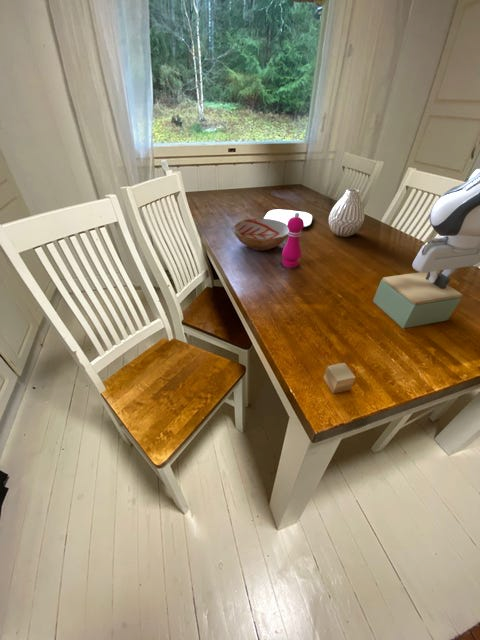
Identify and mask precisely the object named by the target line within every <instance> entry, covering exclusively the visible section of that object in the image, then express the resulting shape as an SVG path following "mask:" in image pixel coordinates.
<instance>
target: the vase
mask: <svg viewBox="0 0 480 640" xmlns="http://www.w3.org/2000/svg"><path fill="white" fill-rule="evenodd" d="M364 221H365V208H364V205H363V202H362V199H361V192H360V190H359V189H356V188H347V189H346V190H345V193H344V194H343V196H342V197H341V198H340V199H338V200H337V202H336V203H335V204H334V205H333V207H332V208H331V210H330V213H329V215H328V227H329V229H330V231H331V232H332V233H333V234H334V236H335V235H336V236H337V237H343V238H347V237H351V236H353V235H355V234H356V233H357V232H359V230H361V228H362V226H363V224H364Z"/></svg>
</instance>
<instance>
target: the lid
mask: <svg viewBox="0 0 480 640" xmlns="http://www.w3.org/2000/svg"><path fill="white" fill-rule="evenodd" d="M441 273H442V272H440V273H438V277H439V279H438V281H437V282H435V283H431V282H430V281H429V277H430V272H425V273H420V272H418V271H417V272H411V273H404V274H398V275H392V276H391V275H390V276H384V277H382V279H381V280H383V281H385V282H386V283H387V284H389V285H390V286H391V287H393V288H394V289H395V290H397V291H398V292H399V293H400V294H402V295H403V296H404V297H406V298H407V299H408V300H410V301H411V302H412V303H413V304H421V303H427V302H433V301H439V300H445V299H451V298H457V297H461V298H462V296H463V293H461V292H459V291H458V290H456V289H454V288H453V287H451V286H449V283H450V282H451V278H449V276H448V277H446V276H444V275H442V274H441Z"/></svg>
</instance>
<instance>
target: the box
mask: <svg viewBox="0 0 480 640" xmlns="http://www.w3.org/2000/svg"><path fill="white" fill-rule="evenodd" d="M373 297H374V298H373V300H372V302H373V303H374V305H376V306H377V307H378V308H379V309H380V310H381V311H383V312H384V313H385V314H386V315H387V316H388V317H389V318H390V319H392V320H393V321H394V322H395V323H396V324H397V325H398V326H400V328H402V329H407V328H413V327H419V326H424V325H428V324H429V325H430V324H434V323H439V322H445V321H448V320H449V319H450V317H451V316H452V314H453V312H454V311H455V309H456V308H457V306H458V305H459V303H460V301H461V300H462V296H461V297H457V298H451V299H445V300H439V301H433V302H427V303H421V304H413V303H412V302H411V301H410V300H408V299H407V298H406V297H404V296H403V295H402V294H400V293H399V292H398V291H397V290H395V289H394V288H393V287H391V286H390V285H389V284H387V283H386V282H385V281H383V280H382V279H381V280H380V282H379V285H378V287H377V290H376V292H375V295H374V296H373Z"/></svg>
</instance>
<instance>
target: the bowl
mask: <svg viewBox="0 0 480 640" xmlns="http://www.w3.org/2000/svg"><path fill="white" fill-rule="evenodd" d="M288 230H289V229H288V227H287V224H285V223H283V222H280V221H277V220H272V219H264V217H263V218H262V217H261V218H260V217H258V218H257V217H256V218H248V219H247V218H246V219H243V220H240V221H239V220H238V221H237V222H236V223H234V224H233V225H232V231H233V233H234V235H235V237H236V238H237V240H238V241H239V242H240V243H241V244H243V245H244V246H245V247H248V248H249V249H252V250H254V251H262V252H263V251H268V250H271V249H273V248H276V247H278V246H279V245H281V244H282V243H284V241H285V240H286V239H287V237H288V234H287V233H288Z"/></svg>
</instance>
